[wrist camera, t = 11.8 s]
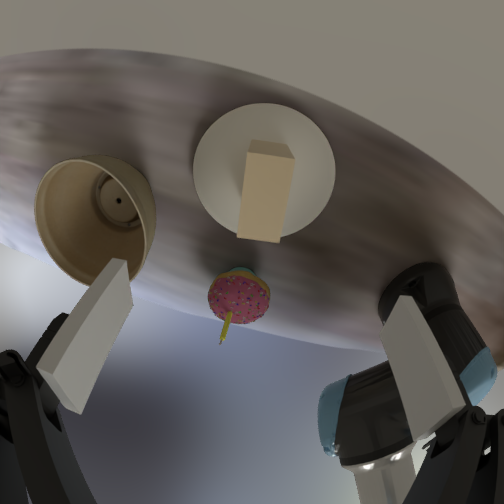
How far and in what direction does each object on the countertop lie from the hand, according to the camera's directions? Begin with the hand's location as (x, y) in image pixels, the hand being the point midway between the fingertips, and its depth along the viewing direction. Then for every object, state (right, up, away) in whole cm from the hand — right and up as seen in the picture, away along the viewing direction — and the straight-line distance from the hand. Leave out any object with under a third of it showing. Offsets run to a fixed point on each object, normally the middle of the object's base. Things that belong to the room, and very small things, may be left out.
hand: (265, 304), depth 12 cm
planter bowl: (-19, +10, +23) cm, 31 cm away
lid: (+1, +12, +20) cm, 24 cm away
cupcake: (-2, -2, +29) cm, 29 cm away
